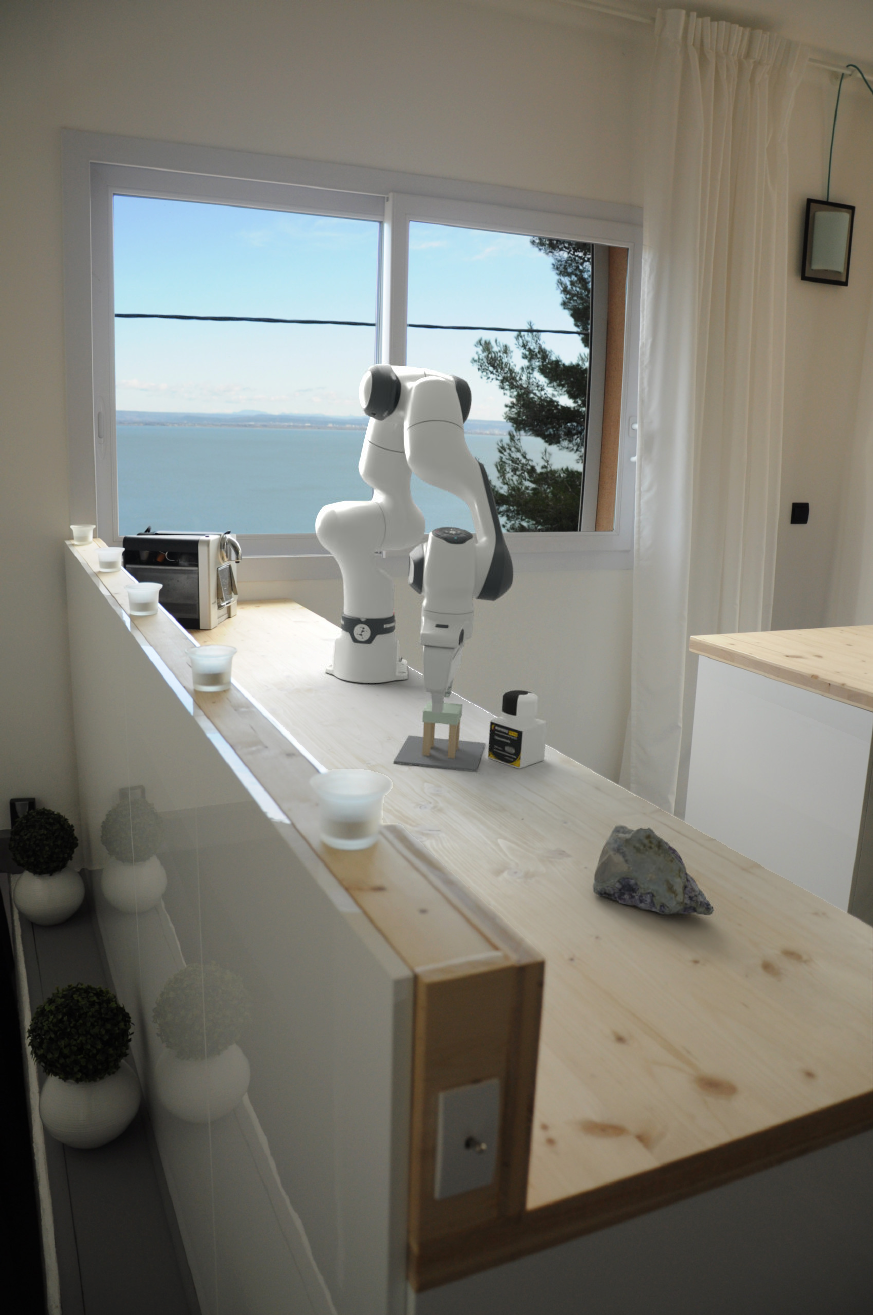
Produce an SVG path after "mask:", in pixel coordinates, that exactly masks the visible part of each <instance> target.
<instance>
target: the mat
mask: <svg viewBox="0 0 873 1315" xmlns="http://www.w3.org/2000/svg"><path fill="white" fill-rule="evenodd" d="M448 740H449V738H440V737H439V738H438V737H434V746H433V748H432V747H430V755H429V756H427V755H422V748H423V736H418V735H408V736H407V738H406V739H405V741H404V743H403V744H402V746H401V748H400V750H399V752H398V753H397V755H396V756H395V758H394V760H393V764H397V763H401V764H400V765H407V764H412V765H411V766H417V765H421V766H420V767H427V768H436V767H438V769H446V768H448V770H456V769H457V771H466V770H467V771H466V772H469V771H470V772H477V771H478V768H479V764H480V762H481V759H482V756H483V753H484V750H485V747H484V746H486V742H479V741H471V740H470V741H468V740H460V739H459V748H458V750H456V753H455V758H448Z"/></svg>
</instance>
